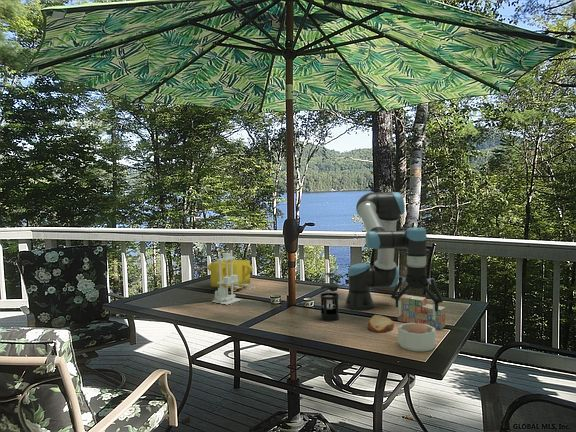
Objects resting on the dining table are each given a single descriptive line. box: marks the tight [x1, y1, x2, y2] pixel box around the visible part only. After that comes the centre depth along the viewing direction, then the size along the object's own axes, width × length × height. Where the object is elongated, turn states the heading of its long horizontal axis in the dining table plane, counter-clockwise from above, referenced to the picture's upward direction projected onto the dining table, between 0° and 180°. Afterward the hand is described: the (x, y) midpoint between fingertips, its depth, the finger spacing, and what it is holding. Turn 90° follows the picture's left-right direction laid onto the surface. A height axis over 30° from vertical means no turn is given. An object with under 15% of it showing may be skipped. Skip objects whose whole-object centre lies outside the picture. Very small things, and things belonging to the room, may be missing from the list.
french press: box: [320, 272, 340, 322], centre depth 211 cm, size 12×9×23 cm
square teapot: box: [206, 258, 253, 290], centre depth 282 cm, size 35×30×21 cm
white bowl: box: [397, 323, 436, 353], centre depth 173 cm, size 14×14×7 cm
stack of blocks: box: [397, 293, 446, 330], centre depth 201 cm, size 21×6×12 cm, turn 48°
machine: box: [211, 249, 256, 306], centre depth 242 cm, size 29×12×30 cm, turn 55°
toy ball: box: [409, 323, 428, 334], centre depth 173 cm, size 8×8×8 cm
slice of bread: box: [367, 314, 395, 334], centre depth 199 cm, size 18×18×4 cm
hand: (416, 317), depth 173 cm, fingers open, 13 cm apart
